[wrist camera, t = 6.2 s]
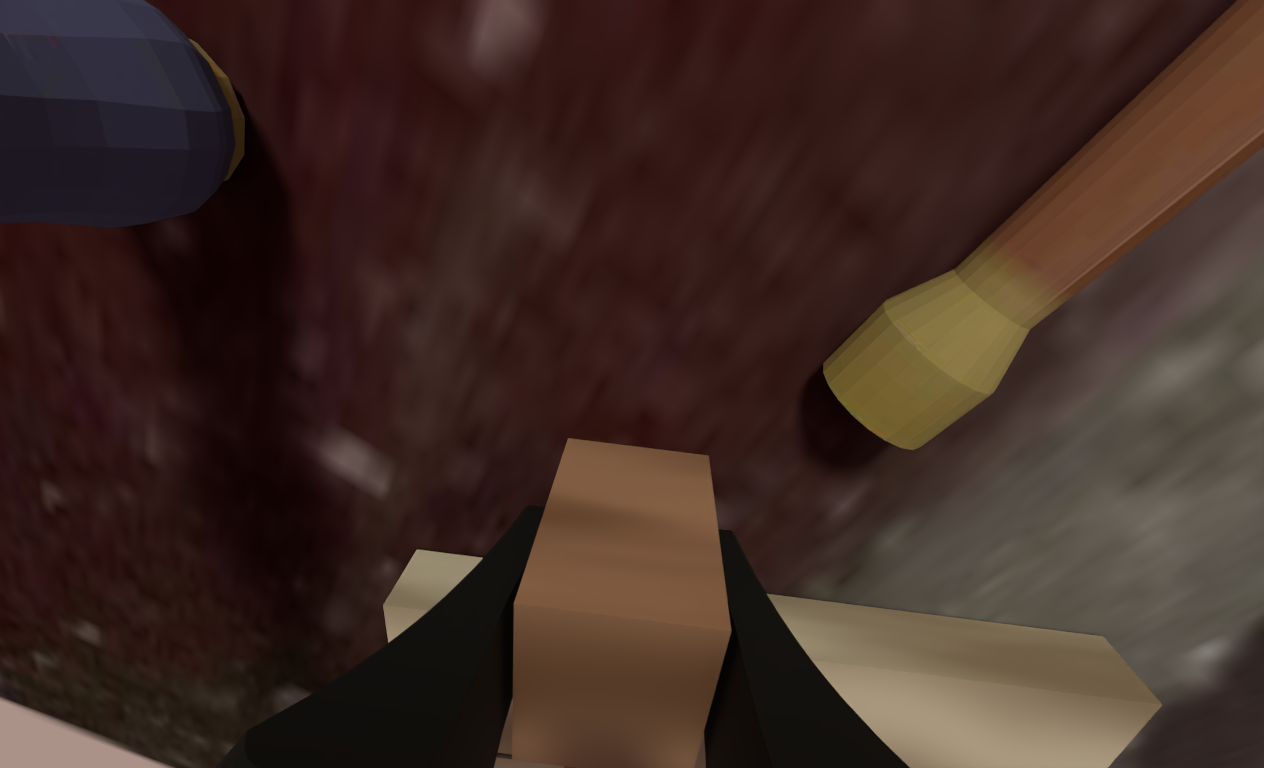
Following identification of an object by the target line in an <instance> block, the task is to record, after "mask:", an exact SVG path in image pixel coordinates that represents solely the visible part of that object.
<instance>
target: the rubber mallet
mask: <svg viewBox="0 0 1264 768" xmlns="http://www.w3.org/2000/svg"><path fill="white" fill-rule="evenodd" d="M244 142H245V118H244V115H243V113H242V110H241V108H240V105H239V103H238V100H237V98H236V96H235V93H234V91H233V88H232V86H231V83H230V81H229V79H228V77H227V76H226V75H225V74H224V73H223V71H222V70H221V69H220V68H219V67H218V66H217V65H216V64H215V62H214V61H213V60H212V59H211V58H210V57H209V56H208V55H207V54H206V52H205V51H204V50H203V49H202V48H201V47H200V46H199V45H198V43H196V42H194V41H192V40H190V39H188V38H187V36H186V35H185V34H184V33H183V32H182V31H181V30H180V29H179V28H178V27H177V26H176V25H175V24H174V23H173V22H172V21H171V20H170V19H169V18H167V17H166V16H165V15H164V14H163V13H162V12H161V11H159V10H158V9H156V8H155V7H153V6H152V5H150V4H149V3H147V2H146V1H144V0H0V223H11V222H47V223H59V224H70V225H81V226H93V227H104V228H119V227H126V226H133V225H140V224H147V223H151V222H155V221H159V220H164V219H168V218H172V217H176V216H180V215H185V214H189V213H192V212H194V211H196V210H198V209H199V208H200V207H201V206H202V205H203V204H204V203H205V202H206V201H207V200H208V199H209V198H210V197H211V196H212V195H213V194H214V193H215V192H216V191H217V189H218V188H219V187H220V185H221V184H222V182H223V181H226V180H228V179H229V178H230V176H231V175H232V173H233V171H234V170H235V168H236V167H237V165H238V164H239V162H240V161H241V159H242V158H243V156H244Z"/></svg>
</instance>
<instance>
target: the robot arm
mask: <svg viewBox="0 0 1264 768" xmlns="http://www.w3.org/2000/svg"><path fill="white" fill-rule="evenodd" d="M544 510H545V507H538V506H530V505H529V506H527V507H526V508H524V510H523V511H522V512H521V514H520V515H519V516H518V518H517V519H516V520H515V522H514V523H513V524H512V525H511V527H510V528H509V529H508V530H507V532H506V533H505V534H504V535H503V536H502V537H501V539H500V540H499V541H498V542H497V543H496V545H495V546H494V547H493V548H492V549H491V550H490V551H489V552H488V553H487V554H486V555H485V557H484V558H483V559H482V560H481V561H480V562H479V563H478V564H477V565H476V566H475V567H474V568H473V569H472V570H471V571H470V572H469V573H468V574H467V575H466V576H465V577H464V578H463V579H462V580H461V581H460V582H459V583H458V584H457V585H456V586H455V587H454V588H453V589H452V590H451V591H450V592H449V593H448V594H447V595H446V596H445V597H444V598H442V599H441V600H440V601H439V602H438V603H437V604H436V605H435V606H434V607H432V608H431V609H430V610H429V611H428V612H427V613H425V614H424V615H423V616H422V617H421V618H419V619H418V620H417V621H416V622H415V623H413V624H412V625H411V626H410V627H408V628H407V629H406V630H404V631H403V632H402V633H401V634H399V635H398V636H397V637H395V638H394V639H393V640H391V641H390V642H389V643H388V644H386V645H385V646H384V647H382V648H381V649H379V650H378V651H377V652H375V653H374V654H373V655H371V656H370V657H368V658H367V659H365V660H364V661H362V662H361V663H359V664H358V665H356V666H355V667H353V668H352V669H350V670H349V671H347V672H346V673H344V674H343V675H341V676H339V677H338V678H336V679H335V680H333V681H332V682H330V683H329V684H327V685H326V686H324V687H323V688H321V689H319V690H318V691H316V692H315V693H313V694H311V695H310V696H308V697H306V698H304V699H303V700H301V701H299V702H297V703H296V704H294V705H292V706H290V707H289V708H287V709H285V710H283V711H281V712H280V713H278V714H276V715H274V716H273V717H271V718H269V719H267V720H266V721H264V722H262V723H260V724H258V725H256V726H254V727H253V728H251V729H249V730H247V731H246V732H245V734H244V735H243V736H242V737H241V739H240V740H239V741H238V742H237V743H236V745H235V746H234V747H233V748H232V749H231V750H230V751H229V753H228V754H227V755H226V756H225V757H224V758H223V760H222V761H221V762H220V764H219V765H218V766H217V767H216V768H494V765H495V761H496V757H497V753H498V749H499V745H500V741H501V737H502V732H503V728H504V725H505V721H506V718H507V715H508V711H509V708H510V705H511V702H512V699H513V636H514V601H515V598H516V595H517V592H518V589H519V586H520V583H521V580H522V577H523V574H524V571H525V568H526V565H527V562H528V559H529V556H530V553H531V550H532V547H533V544H534V541H535V538H536V535H537V532H538V528H539V525H540V522H541V519H542V516H543V513H544ZM718 532H719V540H720V547H721V555H722V563H723V570H724V578H725V586H726V593H727V601H728V609H729V616H730V624H731V634H730V638H729V642H728V645H727V649H726V653H725V656H724V660H723V664H722V667H721V671H720V675H719V678H718V682H717V685H716V689H715V693H714V696H713V700H712V704H711V707H710V711H709V715H708V718H707V722H706V725H705V729H704V742H705V758H706V768H910V767H909V766H908V765H907V764H906V763H905V762H904V761H903V760H902V759H901V758H900V757H898V756H897V755H896V754H895V753H894V752H893V751H892V750H891V749H890V748H889V747H888V746H887V745H886V744H885V743H884V742H883V741H882V740H881V739H880V738H879V737H878V736H877V735H876V734H875V733H874V732H873V730H872V729H871V728H870V727H869V726H868V725H867V724H866V723H865V722H864V721H863V720H862V719H861V718H860V716H859V715H858V714H857V713H856V712H855V711H854V710H853V709H852V708H851V707H850V706H849V705H848V704H847V702H846V701H845V700H844V699H843V698H842V697H841V696H840V694H839V693H838V692H837V691H836V690H835V689H834V687H833V686H832V685H831V684H830V683H829V681H828V680H827V679H826V678H825V676H824V675H823V674H822V673H821V671H820V670H819V669H818V668H817V666H816V665H815V664H814V663H813V661H812V660H811V659H810V657H809V656H808V655H807V653H806V652H805V651H804V649H803V648H802V646H801V645H800V644H799V642H798V641H797V640H796V638H795V637H794V635H793V634H792V632H791V631H790V629H789V628H788V626H787V625H786V623H785V622H784V620H783V619H782V617H781V616H780V614H779V613H778V611H777V610H776V608H775V606H774V605H773V603H772V602H771V600H770V598H769V597H768V595H767V593H766V592H765V590H764V588H763V587H762V585H761V583H760V582H759V580H758V578H757V576H756V575H755V573H754V571H753V569H752V567H751V566H750V564H749V562H748V560H747V558H746V556H745V554H744V552H743V550H742V548H741V546H740V544H739V542H738V540H737V538H736V536H735V535H734V533H733V532H732V531H729V530H721V529H718Z"/></svg>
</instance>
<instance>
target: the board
mask: <svg viewBox="0 0 1264 768" xmlns="http://www.w3.org/2000/svg"><path fill="white" fill-rule="evenodd" d="M482 559H483V558H481V557H473V556H465V555H457V554H449V553H441V552H433V551H425V550H416V552H415V554H414V555H413V557H412V558H411V560H410V562H409V563H408V565H407V567H406V568H405V570H404V572H403V573H402V575H401V577H400V578H399V580H398V582H397V583H396V585H395V586H394V588H393V590H392V591H391V593H390V595H389V596H388V598H387V600H386V601H385V603H384V605H383V608H384V615H385V622H386V629H387V636H388V643H389V642H390V641H391V640H393V639H394V638H395V637H397V636H398V635H399V634H401V633H402V632H403V631H404V630H406V629H407V628H408V627H410V626H411V625H412V624H413V623H415V622H416V621H417V620H418V619H419V618H421V617H422V616H423V615H424V614H425V613H427V612H428V611H429V610H430V609H431V608H432V607H434V606H435V605H436V604H437V603H438V602H439V601H440V600H441V599H442V598H444V597H445V596H446V595H447V594H448V593H449V592H450V591H451V590H452V589H453V588H454V587H455V586H456V585H457V584H458V583H459V582H460V581H461V580H462V579H463V578H464V577H465V576H466V575H467V574H468V573H469V572H470V571H471V570H472V569H473V568H474V567H475V566H476V565H477V564H478V563H479V562H480V561H481V560H482ZM767 595H768V597H769V598H770V600H771V602H772V603H773V605H774V606H775V608H776V610H777V611H778V613H779V614H780V616H781V617H782V619H783V620H784V622H785V623H786V625H787V626H788V628H789V629H790V631H791V632H792V634H793V635H794V637H795V638H796V640H797V641H798V642H799V644H800V645H801V646H802V648H803V649H804V651H805V652H806V653H807V655H808V656H809V657H810V659H811V660H812V661H813V663H814V664H815V665H816V666H817V668H818V669H819V670H820V671H821V673H822V674H823V675H824V676H825V678H826V679H827V680H828V681H829V683H830V684H831V685H832V686H833V687H834V689H835V690H836V691H837V692H838V693H839V694H840V696H841V697H842V698H843V699H844V700H845V701H846V702H847V704H848V705H849V706H850V707H851V708H852V709H853V710H854V711H855V712H856V713H857V714H858V715H859V716H860V718H861V719H862V720H863V721H864V722H865V723H866V724H867V725H868V726H869V727H870V728H871V729H872V730H873V732H874V733H875V734H876V735H877V736H878V737H879V738H880V739H881V740H882V741H883V742H884V743H885V744H886V745H887V746H888V747H889V748H890V749H891V750H892V751H893V752H894V753H895V754H896V755H897V756H898V757H900V758H901V759H902V760H903V761H904V762H905V763H906V764H907V765H908V766H909V767H910V768H1108V767H1109V766H1110V765H1111V763H1112V762H1113V761H1114V760H1115V759H1116V758H1117V757H1118V755H1119V754H1120V753H1121V752H1122V751H1123V750H1124V749H1125V747H1126V746H1127V745H1128V744H1129V743H1130V742H1131V741H1132V739H1133V738H1134V737H1135V736H1136V735H1137V734H1138V733H1139V731H1140V730H1141V729H1142V728H1143V727H1144V726H1145V724H1146V723H1147V722H1148V721H1149V720H1150V719H1151V718H1152V716H1153V715H1154V714H1155V713H1156V712H1157V711H1158V710H1159V708H1160V707H1161V706H1162V703H1161V702H1160V701H1159V700H1158V699H1157V698H1156V697H1155V695H1154V694H1153V693H1152V692H1151V691H1150V690H1149V689H1148V687H1147V686H1146V685H1145V684H1144V683H1143V682H1142V680H1141V679H1140V678H1139V677H1138V676H1137V675H1136V674H1135V672H1134V671H1133V670H1132V669H1131V668H1130V667H1129V666H1128V664H1127V663H1126V662H1125V661H1124V660H1123V659H1122V658H1121V656H1120V655H1119V654H1118V653H1117V652H1116V651H1115V650H1114V648H1113V647H1112V646H1111V645H1110V644H1109V643H1108V642H1107V640H1106V639H1105V638H1104V637H1103V636H1096V635H1088V634H1080V633H1072V632H1064V631H1056V630H1049V629H1041V628H1033V627H1025V626H1017V625H1009V624H1001V623H993V622H985V621H978V620H970V619H962V618H954V617H946V616H938V615H930V614H922V613H914V612H907V611H899V610H891V609H883V608H875V607H867V606H859V605H851V604H843V603H836V602H828V601H820V600H812V599H804V598H796V597H788V596H780V595H772V594H767ZM512 726H513V699H512V702H511V705H510V708H509V711H508V715H507V718H506V721H505V725H504V728H503V732H502V737H501V741H500V745H499V749H498V753H497V757H496V761H495V765H494V768H564V766H561V765H553V764H545V763H538V762H530V761H522V760H515V759H512ZM694 768H706V758H705V742H704V733H703V736H702V740H701V744H700V747H699V751H698V755H697V758H696V762H695V765H694Z"/></svg>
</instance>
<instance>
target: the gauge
mask: <svg viewBox="0 0 1264 768" xmlns="http://www.w3.org/2000/svg"><path fill="white" fill-rule="evenodd" d="M730 634H731V624H730V616H729V609H728V601H727V593H726V586H725V578H724V570H723V563H722V555H721V547H720V540H719V532H718V524H717V517H716V509H715V501H714V494H713V486H712V478H711V470H710V463H709V456H707V455H699V454H691V453H683V452H675V451H667V450H659V449H651V448H643V447H635V446H627V445H619V444H611V443H603V442H595V441H587V440H579V439H571V438H568V440H567V443H566V446H565V449H564V452H563V455H562V459H561V462H560V465H559V468H558V471H557V474H556V477H555V480H554V483H553V486H552V489H551V492H550V495H549V498H548V501H547V504H546V507H545V510H544V513H543V516H542V519H541V522H540V525H539V528H538V532H537V535H536V538H535V541H534V544H533V547H532V550H531V553H530V556H529V559H528V562H527V565H526V568H525V571H524V574H523V577H522V580H521V583H520V586H519V589H518V592H517V595H516V598H515V601H514V636H513V726H512V759H515V760H522V761H530V762H538V763H545V764H553V765H561V766H564V768H694V765H695V762H696V758H697V755H698V751H699V747H700V744H701V740H702V736H703V733H704V729H705V725H706V722H707V718H708V715H709V711H710V707H711V704H712V700H713V696H714V693H715V689H716V685H717V682H718V678H719V675H720V671H721V667H722V664H723V660H724V656H725V653H726V649H727V645H728V642H729V638H730Z"/></svg>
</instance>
